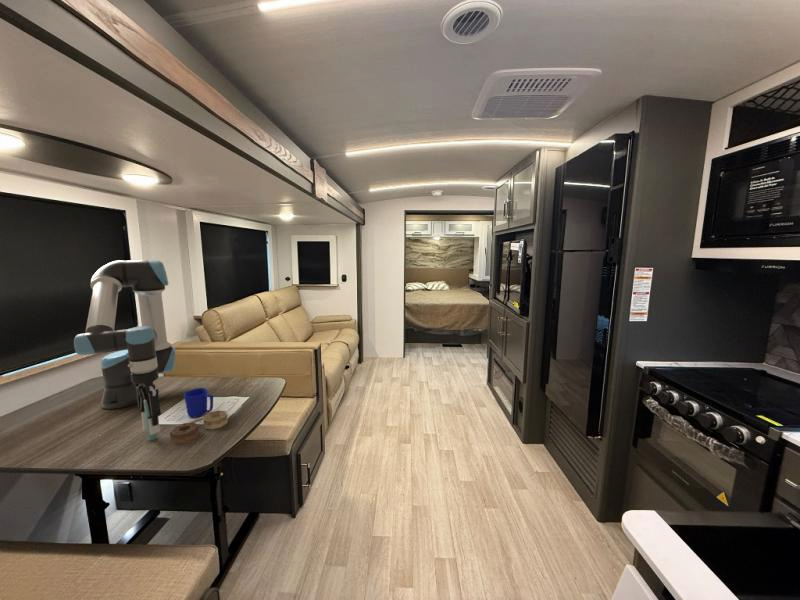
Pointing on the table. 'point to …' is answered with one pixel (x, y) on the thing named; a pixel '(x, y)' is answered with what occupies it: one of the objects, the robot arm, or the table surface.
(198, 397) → the mug
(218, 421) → the maple bead
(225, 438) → the table surface
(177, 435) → the walnut bead
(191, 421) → the thin beige rod
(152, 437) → the teal rod
